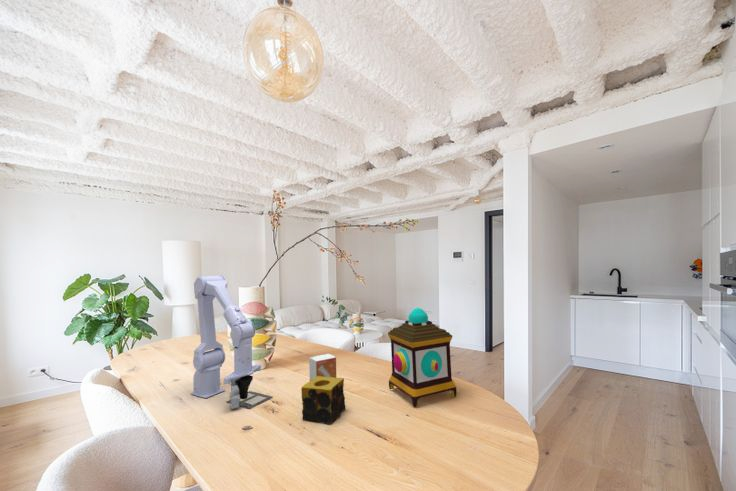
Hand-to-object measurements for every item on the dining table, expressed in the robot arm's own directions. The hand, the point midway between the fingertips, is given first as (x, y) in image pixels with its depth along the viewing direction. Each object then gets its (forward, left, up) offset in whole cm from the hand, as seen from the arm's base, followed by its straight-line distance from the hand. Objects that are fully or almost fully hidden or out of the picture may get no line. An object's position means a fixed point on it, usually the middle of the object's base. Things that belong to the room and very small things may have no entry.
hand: (243, 398), depth 105 cm
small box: (+20, +18, -2) cm, 27 cm away
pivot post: (-9, +3, -2) cm, 10 cm away
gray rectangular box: (-2, -1, -1) cm, 3 cm away
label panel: (0, +3, -2) cm, 3 cm away
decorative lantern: (+52, +33, -2) cm, 62 cm away
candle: (+31, +6, -2) cm, 31 cm away
